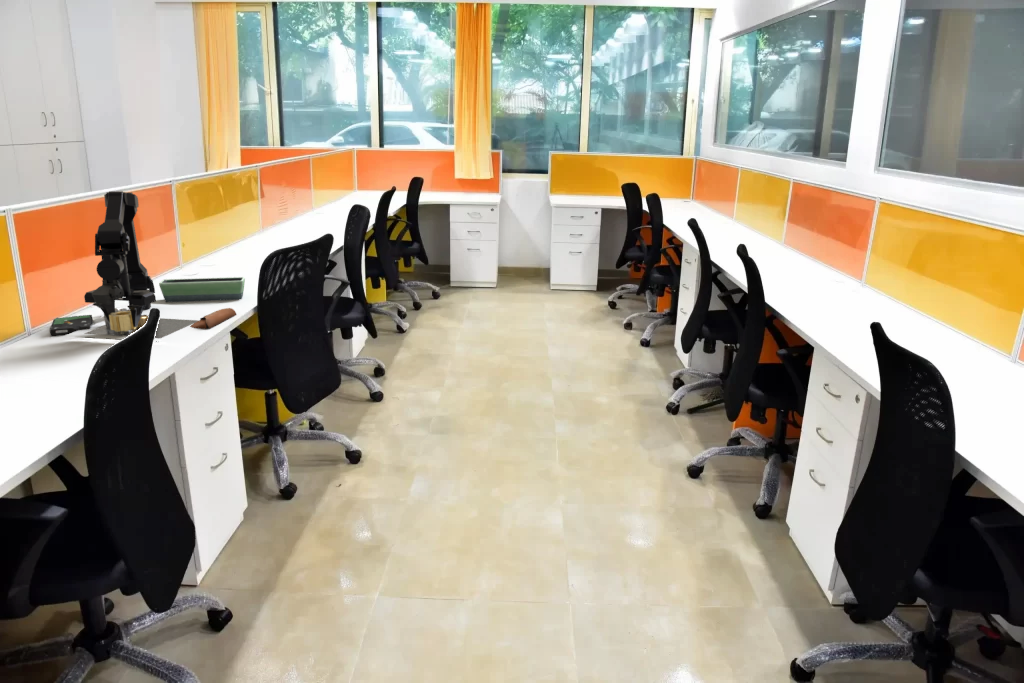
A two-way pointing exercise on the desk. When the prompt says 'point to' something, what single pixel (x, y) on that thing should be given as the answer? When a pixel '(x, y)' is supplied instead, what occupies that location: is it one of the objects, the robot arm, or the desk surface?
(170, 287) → the planter
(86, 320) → the disk drive
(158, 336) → the carrier
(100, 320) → the desk surface
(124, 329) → the brass gear
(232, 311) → the sunglasses case
